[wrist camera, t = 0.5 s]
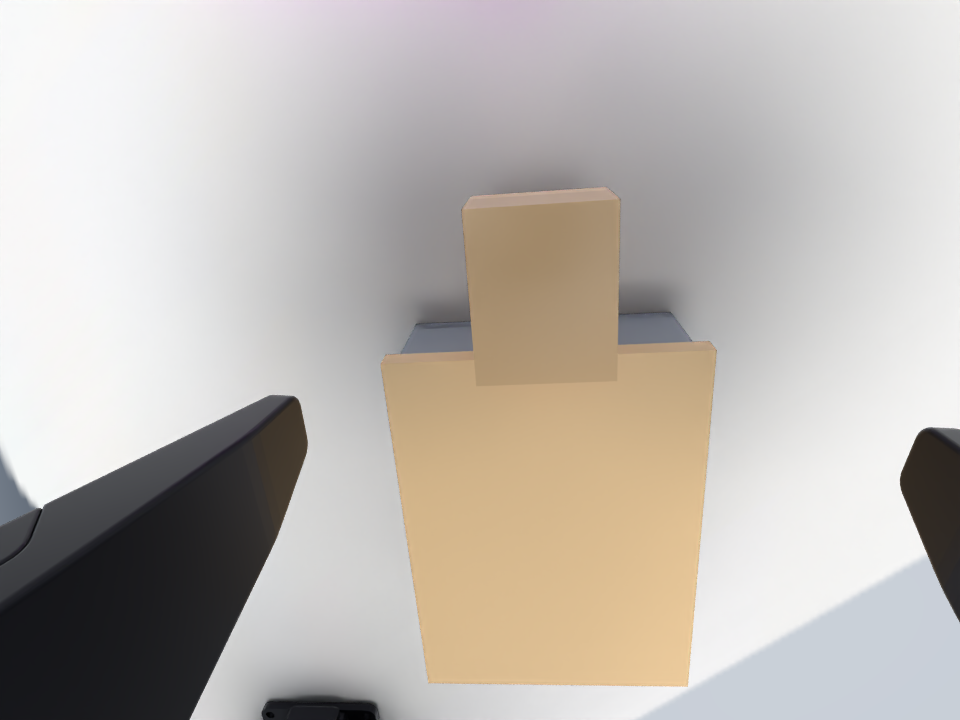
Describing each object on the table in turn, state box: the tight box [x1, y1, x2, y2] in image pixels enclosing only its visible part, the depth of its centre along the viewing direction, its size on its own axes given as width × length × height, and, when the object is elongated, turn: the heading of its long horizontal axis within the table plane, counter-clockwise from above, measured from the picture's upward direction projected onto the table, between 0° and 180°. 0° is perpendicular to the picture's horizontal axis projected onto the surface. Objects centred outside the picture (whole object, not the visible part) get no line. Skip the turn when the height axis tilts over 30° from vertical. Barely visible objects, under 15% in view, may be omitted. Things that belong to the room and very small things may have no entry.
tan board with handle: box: [381, 187, 717, 687], centre depth 20 cm, size 20×11×3 cm, turn 4°
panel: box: [401, 312, 692, 354], centre depth 24 cm, size 14×10×4 cm
